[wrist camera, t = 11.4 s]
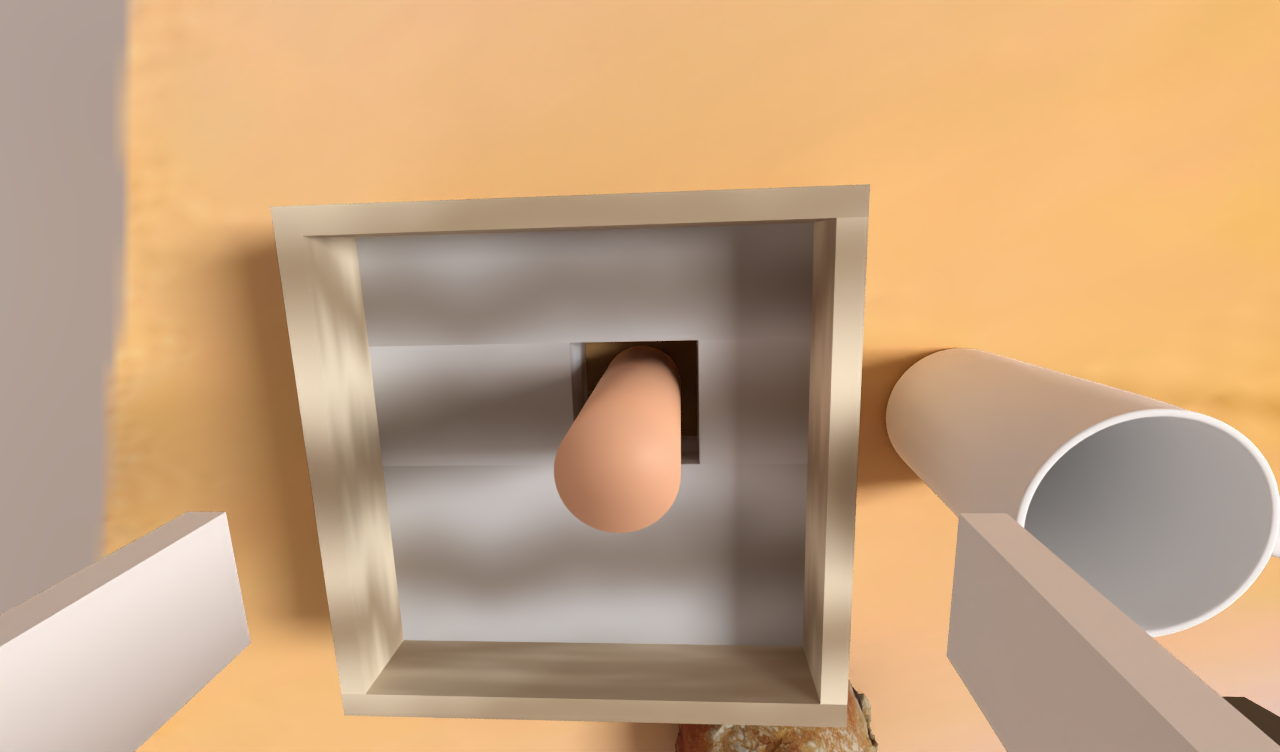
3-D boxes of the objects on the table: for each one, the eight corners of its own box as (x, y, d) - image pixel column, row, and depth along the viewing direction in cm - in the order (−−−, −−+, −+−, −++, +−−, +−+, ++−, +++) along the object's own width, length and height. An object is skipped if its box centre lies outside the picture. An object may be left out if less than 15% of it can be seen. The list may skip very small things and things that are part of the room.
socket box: (376, 218, 28) (270, 206, 21) (818, 202, 27) (869, 184, 19) (421, 609, 32) (344, 715, 25) (806, 613, 31) (846, 727, 23)
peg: (603, 346, 29) (550, 412, 17) (679, 345, 28) (679, 411, 17) (606, 420, 29) (557, 533, 18) (681, 419, 29) (681, 533, 17)
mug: (861, 466, 29) (982, 612, 17) (900, 328, 28) (1061, 385, 16) (1072, 508, 29) (1341, 686, 17) (1122, 371, 27) (1453, 462, 16)
